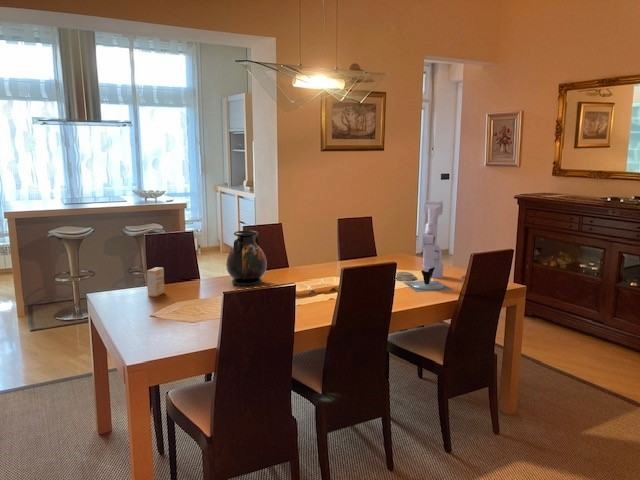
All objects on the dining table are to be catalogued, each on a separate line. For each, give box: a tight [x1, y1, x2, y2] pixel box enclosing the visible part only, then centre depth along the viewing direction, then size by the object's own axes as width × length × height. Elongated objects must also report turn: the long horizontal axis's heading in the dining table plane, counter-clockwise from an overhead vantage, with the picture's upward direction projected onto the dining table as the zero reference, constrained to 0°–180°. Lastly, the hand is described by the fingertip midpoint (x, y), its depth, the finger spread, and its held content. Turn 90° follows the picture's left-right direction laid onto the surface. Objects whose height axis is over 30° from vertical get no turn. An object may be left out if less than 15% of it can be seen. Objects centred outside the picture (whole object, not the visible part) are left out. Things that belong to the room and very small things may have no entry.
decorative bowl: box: [395, 271, 418, 282], centre depth 286 cm, size 15×4×15 cm
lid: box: [411, 277, 445, 290], centre depth 269 cm, size 17×17×6 cm
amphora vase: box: [225, 230, 268, 287], centre depth 273 cm, size 22×22×28 cm
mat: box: [402, 280, 454, 293], centre depth 269 cm, size 20×20×1 cm
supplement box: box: [146, 266, 165, 298], centre depth 252 cm, size 8×5×13 cm, turn 168°
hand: (427, 282), depth 269 cm, fingers open, 7 cm apart
